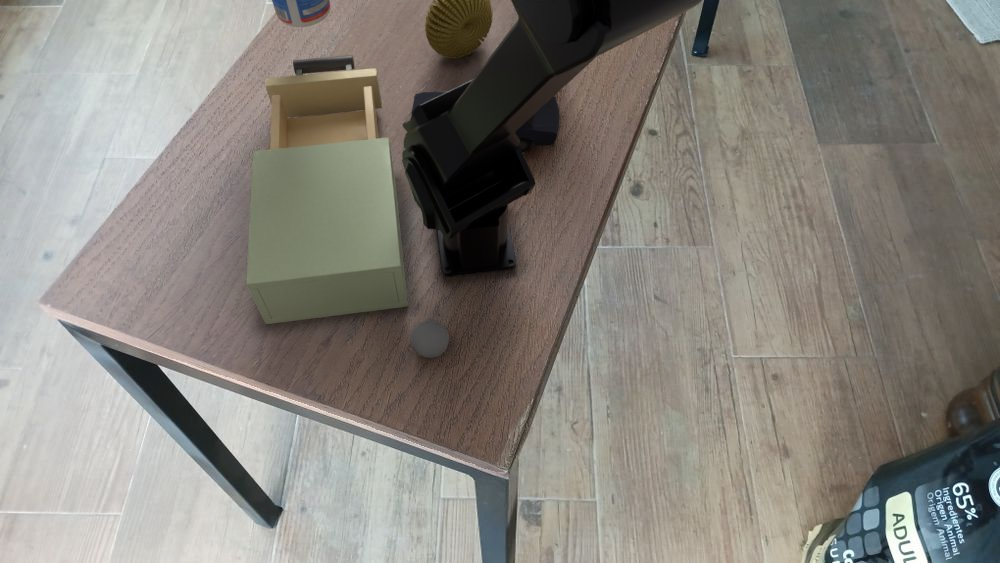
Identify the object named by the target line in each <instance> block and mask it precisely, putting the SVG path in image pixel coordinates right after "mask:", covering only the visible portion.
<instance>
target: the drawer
mask: <svg viewBox="0 0 1000 563" xmlns="http://www.w3.org/2000/svg"><path fill="white" fill-rule="evenodd" d="M292 65H293V66H292V67H293V71H294V72H293V73H294V74H295V75H288V76H275V77H266V78H265V89H266V93H267V95H268V98H269V101H270V104H271V105H270V106H271V108H270V109H271V110H270V111H271V112H270V113H271V114H270V139H269V140H270V141H269V143H270V144H269V150H271V149H281V148H290V147H300V146H310V145H319V144H329V143H339V142H349V141H358V140H368V139H378V138H380V136H379V128H378V127H379V126H378V115H377V109H379V110H380V109H382V108H383V103H382V96H381V89H380V84H379V83H380V82H379V77H378V72H377V68H376V67H374V68H373V67H372V68H364V69H363V68H362V69H356V67H355V60H354V55H353V54H349V55H348V54H347V55H338V56H326V57H325V56H324V57H315V58H305V59H295V60H292Z"/></svg>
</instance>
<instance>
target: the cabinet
mask: <svg viewBox="0 0 1000 563" xmlns="http://www.w3.org/2000/svg"><path fill="white" fill-rule="evenodd" d="M394 168H395V167H394V162H393V156H392V150H391V144H390V138H389V137H379V138H378V139H368V140H358V141H349V142H339V143H329V144H319V145H310V146H300V147H290V148H281V149H271V150H270V149H262V150H253V151H252V165H251V186H250V202H249V203H250V205H249V220H248V221H249V224H248V242H247V243H248V244H247V258H246V259H247V262H246V281H245V285H246V287H247V289H248V291H249V294H250V296H251V297H252V299H253V301H254V304H255V305H256V307H257V309H258V312H259V313H260V315H261V317H262V319H263V322H264V323H265V325H271V324H272V325H273V324H278V323H287V322H294V321H302V320H311V319H320V318H328V317H334V316H343V315H351V314H358V313H367V312H375V311H383V310H391V309H399V308H408V307H409V301H408V291H407V281H406V271H405V270H406V269H405V261H404V260H405V259H404V251H403V250H404V249H403V243H402V242H403V240H402V231H401V220H400V211H399V201H398V192H397V181H396V175H395V169H394Z"/></svg>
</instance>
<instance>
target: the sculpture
mask: <svg viewBox="0 0 1000 563" xmlns="http://www.w3.org/2000/svg"><path fill="white" fill-rule="evenodd" d="M432 3H433V4H430V5H429V9H428V10H427V13H426V15H425V16H426V17H425V22H424V31H425V37H426V39H427V41H428V43H429V44H428V45H429V46H431V48H432V49H433V51H435V52H436V53H437V54H438V55H440V56H442V57H443V58H449V59H459V58H463V57H465V56H468V55H470V54H472V53H473V52H475V51H476V50H477V49H478V48H479V47H480V46H481V45H482V42H485V39H486V38H487V37H488V34H489V32H490V30H491V27H492V22H493V14H494V13H493V7H492V3H491V0H433V1H432Z"/></svg>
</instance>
